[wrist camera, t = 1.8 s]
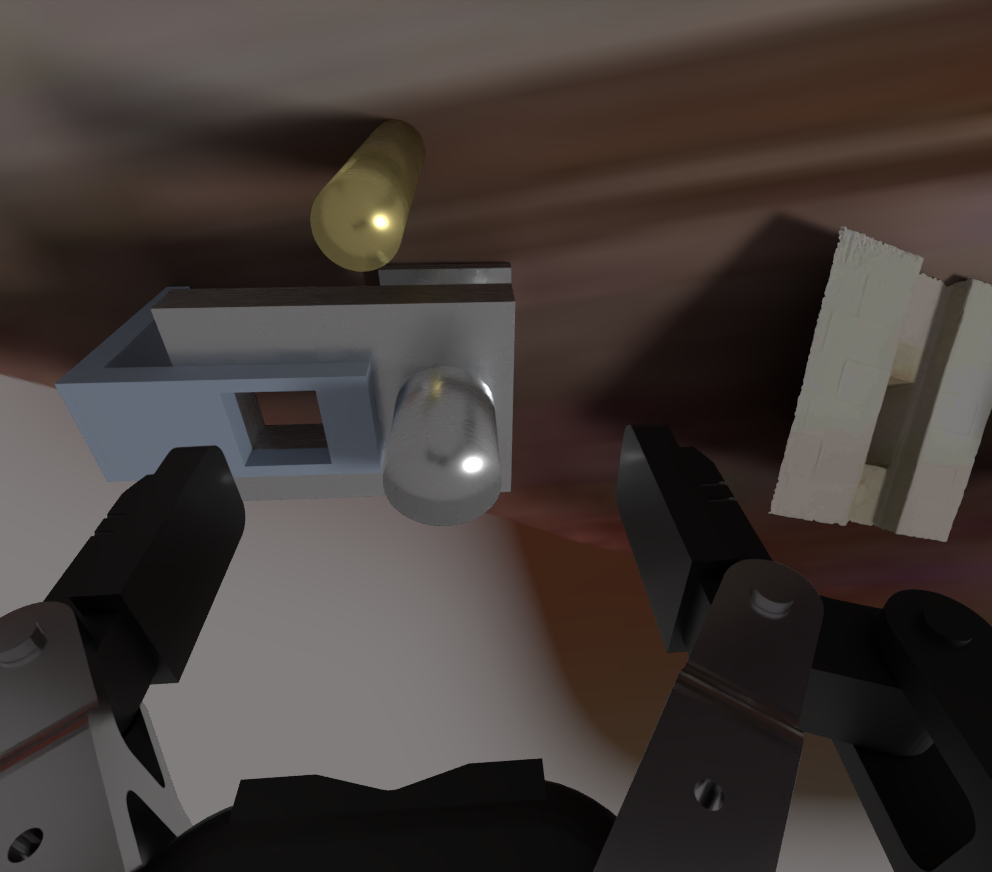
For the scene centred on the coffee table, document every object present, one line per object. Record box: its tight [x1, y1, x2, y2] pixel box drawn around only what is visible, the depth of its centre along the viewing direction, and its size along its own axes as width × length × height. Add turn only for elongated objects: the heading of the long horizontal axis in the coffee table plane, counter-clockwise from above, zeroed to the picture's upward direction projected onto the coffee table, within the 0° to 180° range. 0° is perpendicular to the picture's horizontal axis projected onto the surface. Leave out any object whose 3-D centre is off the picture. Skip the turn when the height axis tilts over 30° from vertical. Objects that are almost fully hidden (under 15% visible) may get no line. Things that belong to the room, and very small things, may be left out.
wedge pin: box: [310, 119, 425, 272], centre depth 21 cm, size 3×3×13 cm
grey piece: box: [151, 263, 515, 526], centre depth 26 cm, size 10×14×14 cm
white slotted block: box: [769, 226, 992, 542], centre depth 33 cm, size 16×9×15 cm
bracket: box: [55, 286, 384, 482], centre depth 27 cm, size 5×12×10 cm, turn 90°
